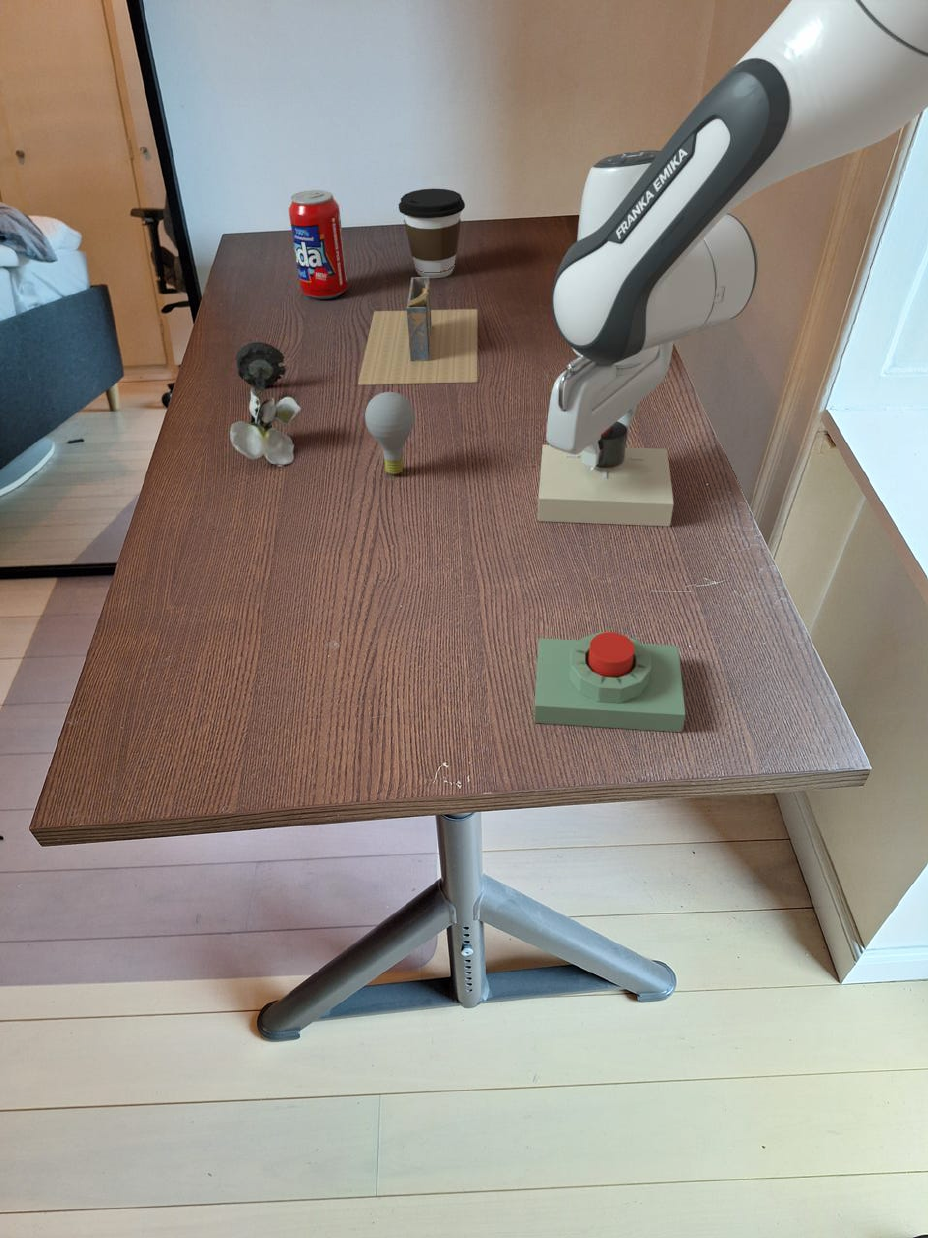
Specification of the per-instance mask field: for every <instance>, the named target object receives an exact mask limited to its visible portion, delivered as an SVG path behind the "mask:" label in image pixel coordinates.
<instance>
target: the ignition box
mask: <svg viewBox="0 0 928 1238" xmlns="http://www.w3.org/2000/svg"><path fill="white" fill-rule="evenodd" d="M601 633H606V631H604V632H603V631H600V632H599V631H598V632H595V633H592V634H589V635H585V636H584V637H581V638H580V639H564V638H563V639H562V638H546V637H545V638H543V637H539V638H538V648H537V665H536V677H535V678H536V680H535V696H534V709H533V710H534V711H533V713H534V715H533V723H534V724H546V725H561V726H576V727H592V728H606V729H608V728H609V729H621V730H623V729H624V730H637V731H639V730H640V731H653V732H668V733H670V732H671V733H682V732H683V729H684V724H685V719H686V706H685V697H684V688H683V680H682V679H683V678H682V670H681V661H680V651H679V646H678V645H672V644H657V643H655V644H652V643H641V642H640V641H639V640H637V639H634V638H633V637H630V636H628V635H625V634H624V633H620V632H618V633H619V634H622V635H624V636H626V637H627V638H629V639H630V640H631V641H632V643H633V645H634V648H635V650H634V657H633V664H632V668H631V670H630V671H629V672H628V673H627V674H625V675H624V676H621V677H617V678H613V677H604V676H601V675H599V674H597V673H595V672H594V671H593V670H592V669H591V667H590V666H589V662H588V659H589V649H590V642H591V640H592V639H593V638H594V637H595V636H597V635H599V634H601Z"/></svg>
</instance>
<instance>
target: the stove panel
mask: <svg viewBox="0 0 928 1238" xmlns="http://www.w3.org/2000/svg"><path fill="white" fill-rule="evenodd" d="M541 447H542V448H541V460H540V461H541V462H540V473H539V485H538V486H539V487H538V498H537V499H538V500H537V501H538V502H537V522H541V523H542V522H545V523H569V524H592V525H594V524H595V525H614V526H615V525H619V526H641V527H667V528H670V527H671V524H672V518H673V517H672V516H673V511H674V505H675V503H674V494H673V487H672V478H671V471H670V464H669V455H668V449H667V448H666V447H665V448H663V447H661V448H660V447H632V446H626V451H625V459H624V461H623V463H622V464H620V465H618V466H616V467H611V468H601V467H596V466H595V467H590V466H588V465H585V464H583V463H582V451H581V452H580V453H579V454H577V455H573V454H569V453H566V452H563V451H560V450H557V449H555V448H553V447H551V446H550V445H549V444H542V446H541Z"/></svg>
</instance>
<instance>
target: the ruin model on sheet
mask: <svg viewBox="0 0 928 1238" xmlns="http://www.w3.org/2000/svg"><path fill="white" fill-rule="evenodd" d="M431 303H432V302H431V286H430V278H429V277H422V276H417V277H416V276H415V277H411V278H410V284H409V290H408V296H407V304H406V310H374V311H373V316H372V321H371V324H370V329H369V333H368V337H367V343H366V347H365V349H364V350H365V351H364V355H363V359H362V363H361V368H360V373H359V377H358V383H357V385H358V386H362V385H365V386H366V385H408V384H409V385H412V384H414V385H415V384H416V385H417V384H419V385H420V384H461V383H462V384H466V383H468V384H469V383H470V384H471V383H478V328H479V327H478V323H479V322H478V318H479V317H478V315H479V314H478V310H479V309H478V308H469V309H468V308H466V309H464V308H463V309H432V304H431Z"/></svg>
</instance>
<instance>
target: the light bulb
mask: <svg viewBox="0 0 928 1238" xmlns="http://www.w3.org/2000/svg"><path fill="white" fill-rule="evenodd" d="M364 419H365V421H364V422H365V425H366V427H367V430H368V432H369V433H370V435H371V436H372V437H373V439H374V440H375V441H376V442H377V444H379V446H380V448H381V449H382V454H383V459H384V467H385V468H384V470H385V472H386V473H388V474H390V475H397V474H400V473H401V472H403V470H404V446H405V443H406V441H407V439H408V438H409V436H410V434H411V433H412V430H413V429H414V424H415V410H414V408H413V406H412V404H411V403H410V400H408V399H407V398H406V397H405V395H402V394H400V393H398V392H395V391H384V392H380V393H378V394H376V395H375V396H373V398H372V399H371V400H370V401H368V403H367V406H366V408H365V412H364Z"/></svg>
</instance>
